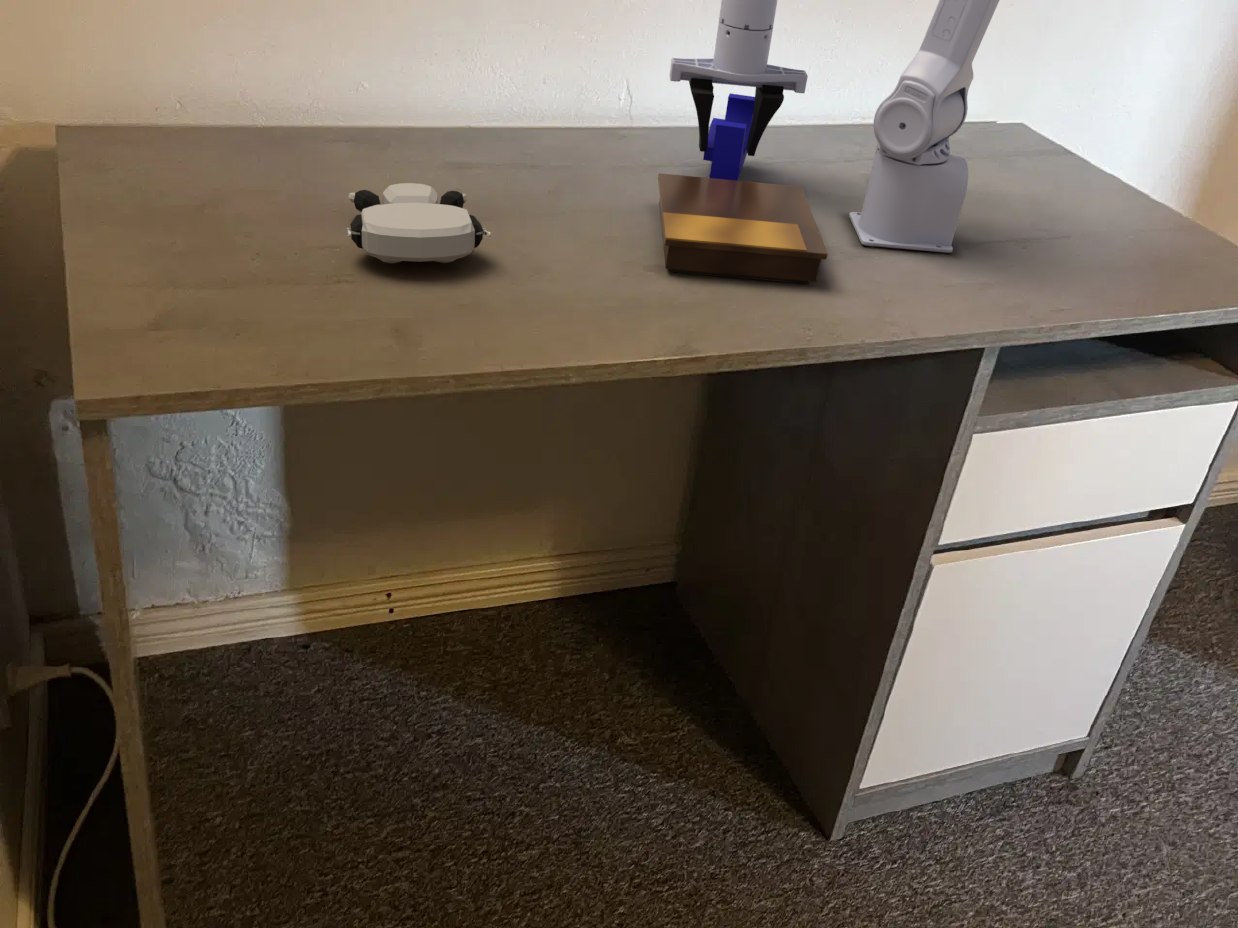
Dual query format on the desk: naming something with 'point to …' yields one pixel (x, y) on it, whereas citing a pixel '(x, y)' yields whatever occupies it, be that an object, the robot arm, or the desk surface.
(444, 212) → the robot toy
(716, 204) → the walnut stand
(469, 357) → the desk surface
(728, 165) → the cable clip
